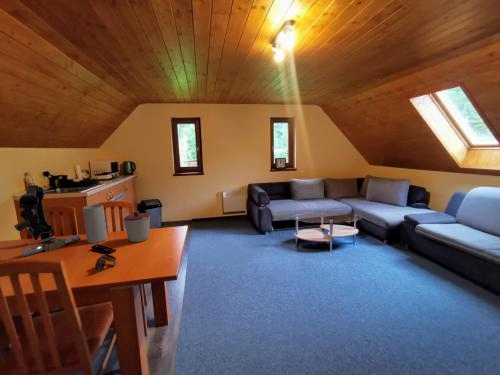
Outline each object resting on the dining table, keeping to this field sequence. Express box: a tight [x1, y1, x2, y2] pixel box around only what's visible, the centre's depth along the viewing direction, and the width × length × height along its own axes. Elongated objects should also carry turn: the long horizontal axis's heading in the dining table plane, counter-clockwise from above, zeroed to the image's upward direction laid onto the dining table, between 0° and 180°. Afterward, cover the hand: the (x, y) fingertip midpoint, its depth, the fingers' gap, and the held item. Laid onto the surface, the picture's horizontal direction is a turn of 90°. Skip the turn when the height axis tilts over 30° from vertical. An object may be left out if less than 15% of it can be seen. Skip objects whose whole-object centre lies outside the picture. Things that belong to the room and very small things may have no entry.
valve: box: [21, 234, 81, 258], centre depth 170 cm, size 7×31×6 cm, turn 145°
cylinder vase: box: [82, 204, 108, 244], centre depth 180 cm, size 12×12×25 cm
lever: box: [27, 235, 56, 247], centre depth 164 cm, size 14×4×1 cm, turn 151°
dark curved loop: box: [94, 253, 117, 272], centre depth 137 cm, size 12×10×8 cm
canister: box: [122, 210, 151, 243], centre depth 178 cm, size 18×18×21 cm
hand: (35, 240), depth 156 cm, fingers closed
